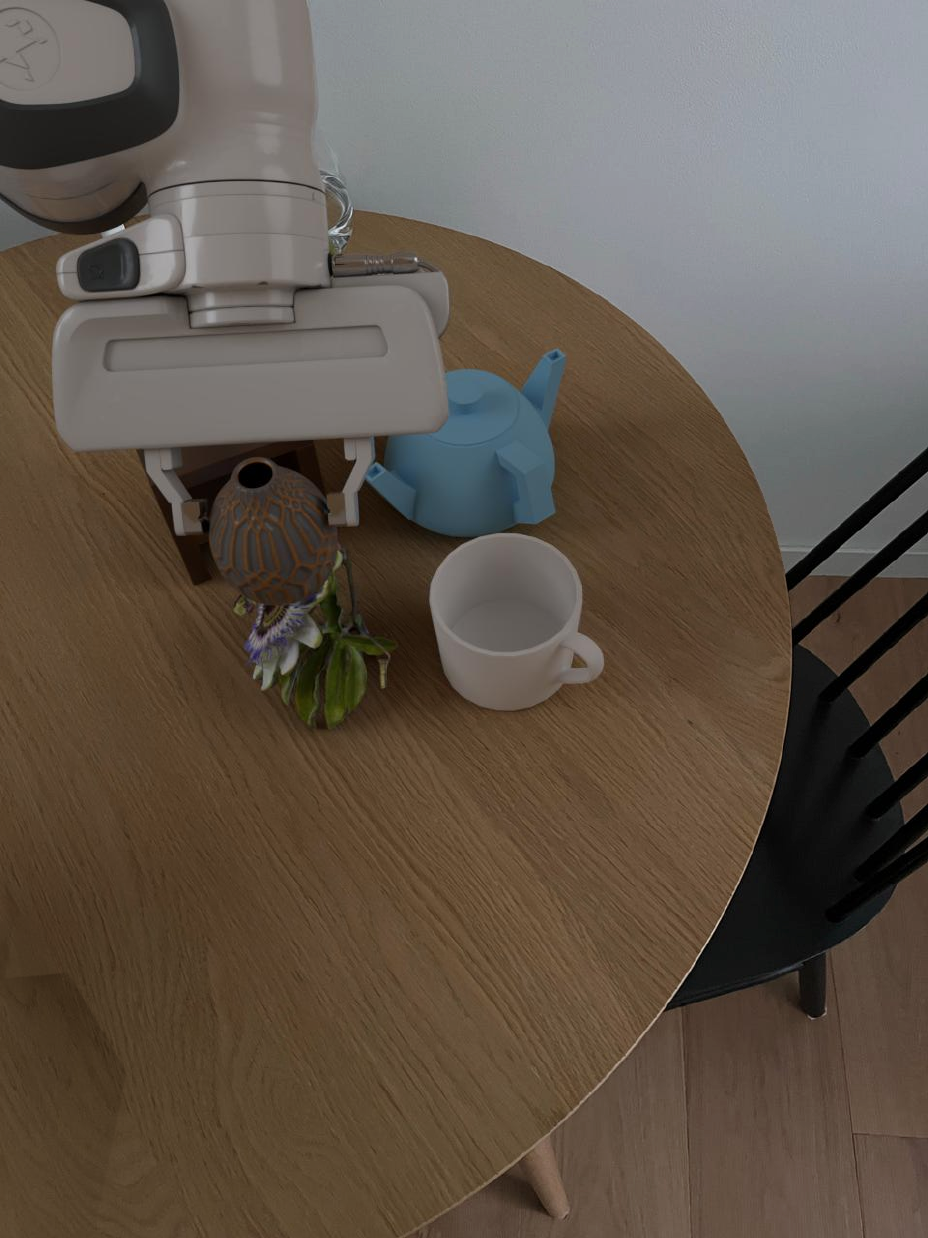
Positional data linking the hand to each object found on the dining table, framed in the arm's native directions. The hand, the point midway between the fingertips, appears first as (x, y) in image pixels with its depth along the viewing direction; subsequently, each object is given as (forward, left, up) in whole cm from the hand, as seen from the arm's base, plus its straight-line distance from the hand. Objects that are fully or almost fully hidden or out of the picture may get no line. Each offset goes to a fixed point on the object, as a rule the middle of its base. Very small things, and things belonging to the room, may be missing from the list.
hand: (267, 530), depth 57 cm
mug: (+15, -1, -23) cm, 28 cm away
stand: (+1, +23, -23) cm, 33 cm away
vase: (0, 0, -5) cm, 5 cm away
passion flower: (+2, +6, -24) cm, 24 cm away
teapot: (+19, +17, -23) cm, 35 cm away
